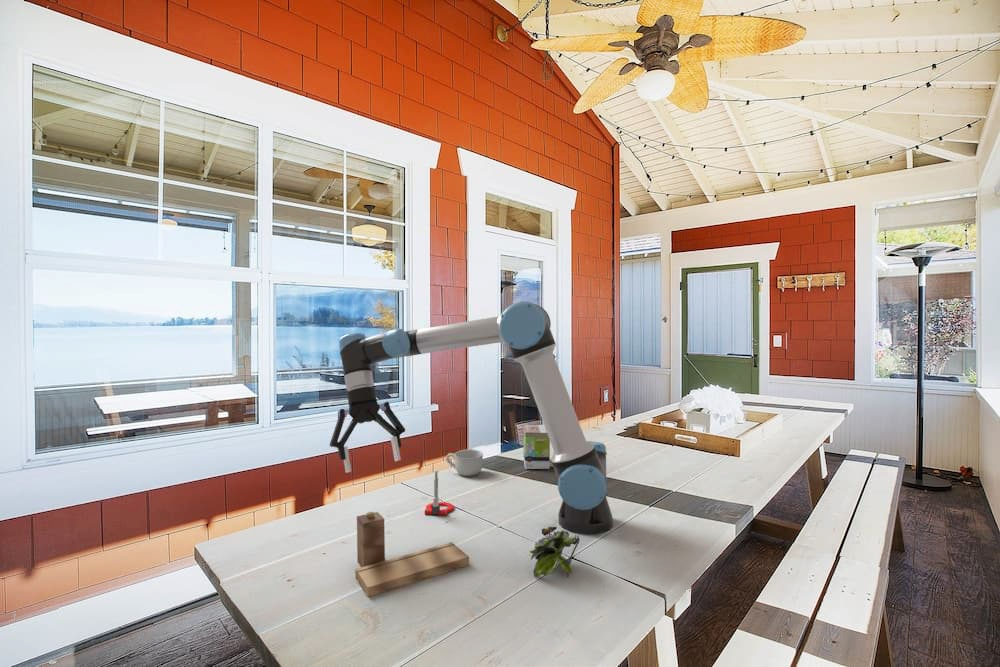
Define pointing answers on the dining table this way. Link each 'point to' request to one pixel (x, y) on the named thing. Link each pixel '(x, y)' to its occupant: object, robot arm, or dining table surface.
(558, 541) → the passion flower
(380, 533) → the block
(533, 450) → the tea box
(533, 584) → the dining table surface
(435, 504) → the tow hook
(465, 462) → the teacup
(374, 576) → the board
